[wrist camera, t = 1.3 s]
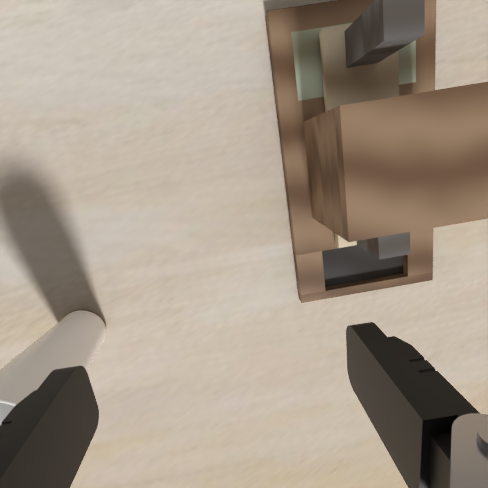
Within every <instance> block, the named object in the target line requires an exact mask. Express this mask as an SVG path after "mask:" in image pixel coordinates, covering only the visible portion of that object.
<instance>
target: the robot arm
mask: <svg viewBox="0 0 488 488" xmlns="http://www.w3.org/2000/svg"><path fill="white" fill-rule="evenodd" d="M346 341H347V368H348V375H349V379H350V382H351V385H352V388H353V390H354V392H355V394H356V395H357V397H358V399H359V401H360V402H361V404H362V406H363V408H364V410H365V411H366V413H367V415H368V417H369V418H370V420H371V422H372V424H373V425H374V427H375V429H376V431H377V433H378V434H379V436H380V438H381V440H382V441H383V443H384V445H385V447H386V448H387V450H388V452H389V454H390V456H391V457H392V459H393V461H394V463H395V464H396V466H397V468H398V470H399V472H400V473H401V475H402V477H403V479H404V480H405V482H406V484H407V486H408V487H409V488H488V415H486V414H480V413H479V412H478V411H477V410H476V409H475V408H474V407H473V406H472V405H471V404H470V403H469V402H468V401H467V400H466V399H465V398H464V397H463V396H462V395H461V394H460V393H459V392H458V391H457V390H456V389H455V388H454V387H453V386H452V385H451V384H450V383H449V382H448V381H447V380H446V379H445V378H444V377H443V376H442V375H441V374H440V373H439V372H438V371H435V368H434V367H433V366H432V365H431V364H430V363H429V362H428V361H427V360H424V357H423V356H422V355H421V354H420V353H419V352H418V351H417V350H416V349H415V348H414V347H413V346H412V345H410V344H408V343H406V342H404V341H402V340H401V339H399V338H397V337H395V336H393V337H387V336H386V335H385V334H384V333H383V332H382V331H381V330H380V329H379V328H378V327H377V325H376V324H374V323H373V322H370V323H364V324H357V325H351V326H348V327H347V329H346ZM98 419H99V410H98V405H97V402H96V399H95V396H94V393H93V390H92V386H91V383H90V380H89V377H88V374H87V371H86V369H85V368H84V367H83V366H74V367H68V368H61V369H55V370H53V371H52V372H51V373H50V374H49V375H48V376H47V378H46V379H45V380H44V382H43V383H42V384H41V385H40V387H39V388H38V389H37V390H35V391H33V392H32V393H30V394H29V395H28V396H27V397H25V398H24V399H23V400H22V401H21V402H19V403H18V404H17V405H16V406H15V407H14V408H13V409H12V410H11V411H10V413H9V414H8V415H7V416H6V418H5V419H4V420H3V421H2V422H1V423H2V424H1V426H0V488H70V486H71V484H72V482H73V480H74V477H75V475H76V473H77V471H78V469H79V466H80V464H81V462H82V460H83V458H84V455H85V453H86V451H87V449H88V447H89V444H90V442H91V440H92V438H93V436H94V433H95V431H96V429H97V425H98Z"/></svg>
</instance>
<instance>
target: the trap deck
mask: <svg viewBox="0 0 488 488" xmlns="http://www.w3.org/2000/svg"><path fill="white" fill-rule="evenodd" d="M373 1H374V0H336V1H330V2H323V3H317V4H310V5H304V6H297V7H291V8H284V9H278V10H271V11H267V14H266V24H267V32H268V40H269V49H270V57H271V66H272V74H273V83H274V91H275V99H276V108H277V116H278V125H279V133H280V142H281V150H282V158H283V167H284V175H285V184H286V192H287V201H288V209H289V218H290V226H291V234H292V243H293V251H294V260H295V268H296V277H297V285H298V293H299V299H300V301H301V303H304V302H310V301H315V300H321V299H327V298H332V297H338V296H344V295H349V294H355V293H361V292H367V291H372V290H378V289H384V288H389V287H395V286H401V285H406V284H412V283H418V282H423V281H429V280H432V275H433V228H435V227H441V226H446V225H452V224H458V223H464V222H470V221H475V220H481V219H487V218H488V82H484V83H477V84H471V85H465V86H459V87H453V88H447V89H440V90H435V40H436V0H425V35H423V36H421V37H420V38H418V39H416V40H415V41H413V42H411V43H410V44H408V45H406V46H405V47H403V48H402V49H400V50H398V55H399V96H397V97H391V98H385V99H379V100H372V101H366V102H360V103H354V104H348V105H341V106H338V107H336V108H334V109H331V110H329V111H327V112H325V102H324V90H323V77H322V64H321V51H320V39H319V32H320V31H321V30H322V28H329V27H335V26H342V25H348V24H352V23H353V22H354V21H355V20H356V19H357V18H358V17H359V16H360V15H361V14H362V13H363V12H364V11H365V10H366V9H367V8H368V7H369V6H370V5H371V3H372V2H373ZM406 232H410V254H408V255H403V256H397V257H391V258H385V259H380V260H379V259H378V258H376V257H374V256H373V255H371V254H370V253H368V252H367V251H365V250H364V249H362V248H361V247H359V246H358V245H354V246H349V247H343V248H338V247H337V246H336V243H335V233H336V234H337V235H339V236H340V237H342V238H343V239H345V240H346V241H348V242H353V241H359V240H365V239H371V238H377V237H382V236H388V235H394V234H400V233H406Z"/></svg>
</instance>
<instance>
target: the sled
mask: <svg viewBox="0 0 488 488" xmlns="http://www.w3.org/2000/svg"><path fill="white" fill-rule="evenodd" d="M423 35H425V0H374V1H373V2H372V3H371V5H370V6H369V7H368V8H367V9H366V10H365V11H364V12H363V13H362V14H361V15H360V16H359V17H358V18H357V19H356V20H355V21H354V22H353V23H352V24H348V25H342V26H335V27H329V28H322V30H321V31H320V32H319V39H320V51H321V64H322V77H323V90H324V102H325V112H327V111H329V110H331V109H334V108H336V107H338V106H341V105H348V104H354V103H360V102H366V101H372V100H379V99H385V98H391V97H397V96H399V55H398V50H400V49H402V48H403V47H405V46H406V45H408V44H410V43H411V42H413V41H415V40H416V39H418V38H420V37H421V36H423ZM335 243H336V246H337V247H338V248H343V247H349V246H354V245H358V246H359V247H361V248H362V249H364V250H365V251H367V252H368V253H370V254H371V255H373V256H374V257H376V258H378V259H379V260H380V259H385V258H391V257H397V256H403V255H408V254H410V232H406V233H400V234H394V235H388V236H382V237H377V238H371V239H365V240H359V241H353V242H348V241H346V240H345V239H343V238H342V237H340V236H339V235H337V234H336V233H335Z"/></svg>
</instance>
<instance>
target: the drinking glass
mask: <svg viewBox="0 0 488 488" xmlns="http://www.w3.org/2000/svg"><path fill="white" fill-rule="evenodd" d="M105 337H106V327H105V324H104V322H103V321H102V319H101V318H100V317H99V316H98V315H96V314H94V313H92V312H89V311H84V310H79V311H74V312H71V313H69V314H67V315H66V316H65V317H64V318H63V319H62V320H61V321H60V322H59V323H58V324H56V325H55V326H54V327H53V328H51V329H50V330H49V331H48V332H47V333H45V334H44V335H43V336H42V337H40V338H39V339H38V340H37V341H35V342H34V343H33V344H32V345H30V346H29V347H28V348H27V349H25V350H24V351H23V352H21V353H20V354H19V355H18V356H16V357H15V358H14V359H13V360H11V361H10V362H9V363H8V364H6V365H5V366H4V367H3V368H2V369H0V426H1V424H2V423H1V422H2V421H3V420H4V419H5V418H6V416H7V415H8V414H9V413H10V411H11V410H12V409H13V408H14V407H15V406H16V405H17V404H18V403H19V402H21V401H22V400H23V399H24V398H25V397H27V396H28V395H29V394H30V393H32V392H33V391H35V390H37V389H38V388H39V387H40V385H41V384H42V383H43V382H44V380H45V379H46V378H47V376H48V375H49V374H50V373H51V372H52V371H53V370H55V369H61V368H68V367H74V366H83V367H84V368H85V369H86V371H87V372H88V370H89V368H90V366H91V364H92V362H93V360H94V358H95V356H96V354H97V352H98V350H99V348H100V347H101V345H102V344H103V342H104V340H105Z"/></svg>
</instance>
